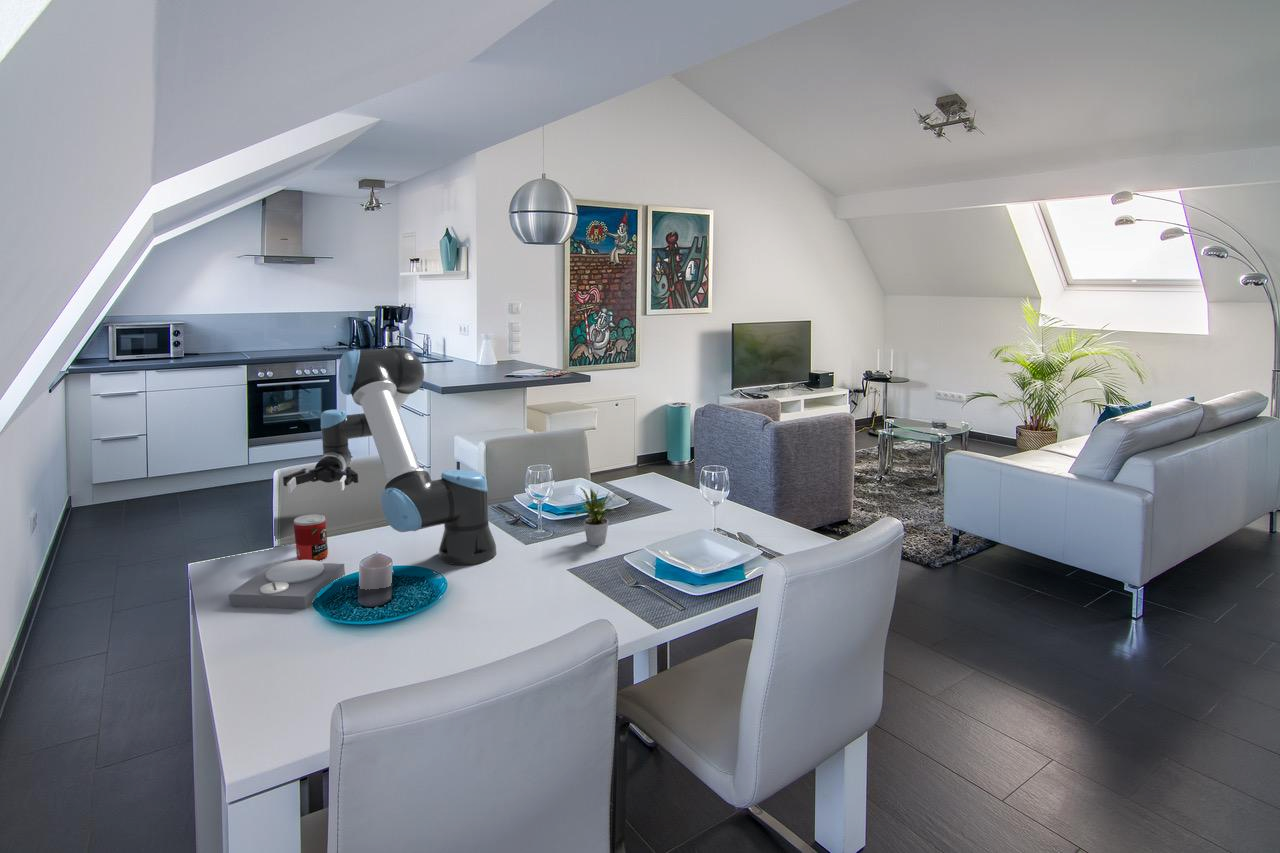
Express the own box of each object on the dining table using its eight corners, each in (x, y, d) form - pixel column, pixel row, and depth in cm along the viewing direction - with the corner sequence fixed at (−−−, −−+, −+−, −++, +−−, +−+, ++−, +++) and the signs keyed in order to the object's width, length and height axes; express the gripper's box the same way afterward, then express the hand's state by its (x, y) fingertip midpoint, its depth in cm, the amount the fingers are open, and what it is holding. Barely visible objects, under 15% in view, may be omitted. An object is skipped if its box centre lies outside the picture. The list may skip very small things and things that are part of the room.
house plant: (556, 542, 219) (555, 486, 216) (590, 530, 229) (590, 476, 226) (592, 554, 210) (592, 496, 207) (626, 540, 220) (626, 485, 217)
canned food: (317, 564, 203) (314, 524, 201) (290, 561, 205) (286, 522, 202) (334, 553, 210) (331, 515, 208) (308, 551, 212) (304, 513, 210)
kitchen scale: (345, 574, 196) (343, 560, 195) (305, 608, 176) (304, 592, 175) (276, 572, 197) (275, 558, 196) (230, 606, 178) (228, 589, 177)
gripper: (374, 477, 237) (363, 498, 217) (287, 481, 233) (268, 502, 212) (372, 454, 236) (361, 472, 215) (285, 457, 231) (265, 476, 211)
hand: (315, 487), depth 214 cm, fingers open, 13 cm apart
